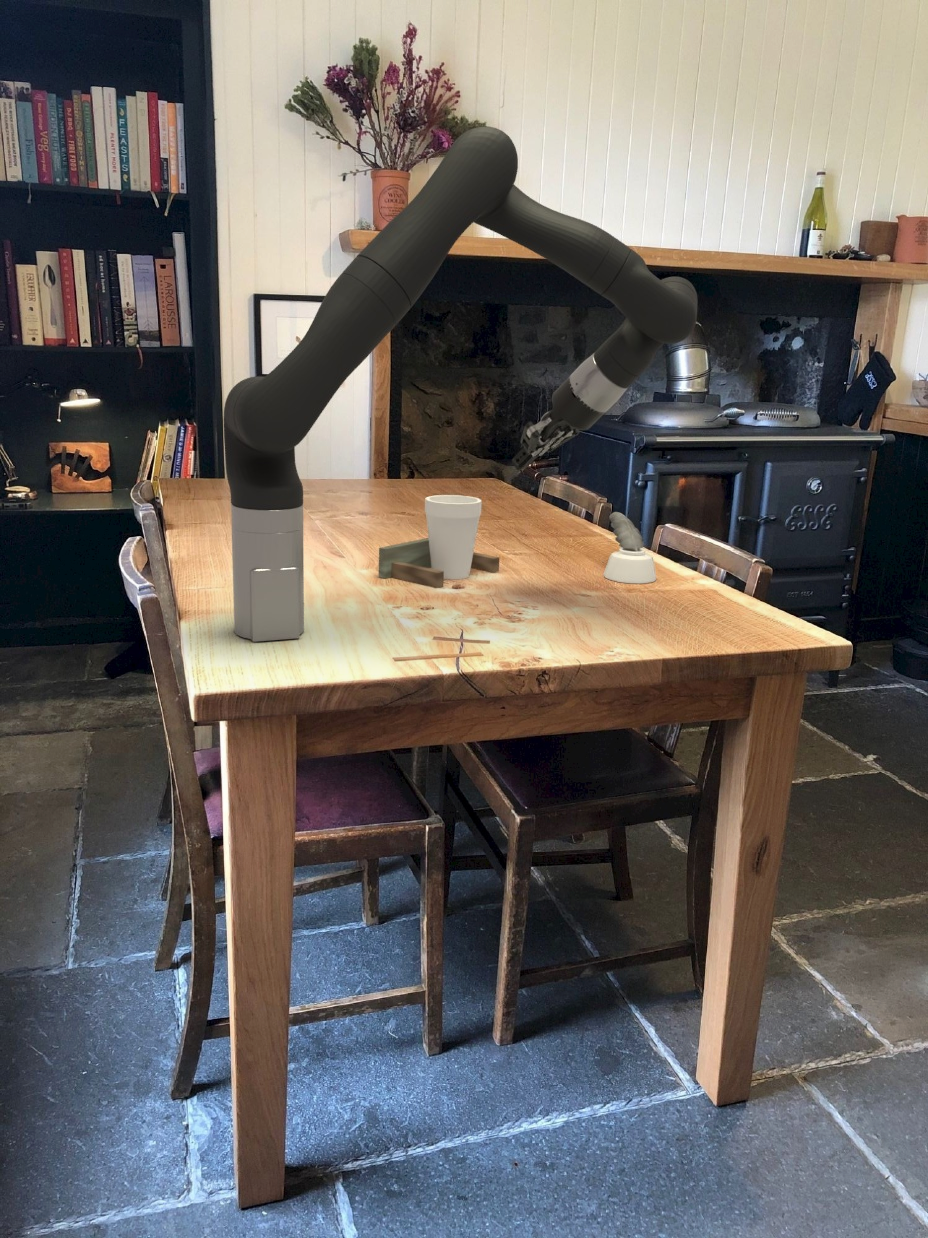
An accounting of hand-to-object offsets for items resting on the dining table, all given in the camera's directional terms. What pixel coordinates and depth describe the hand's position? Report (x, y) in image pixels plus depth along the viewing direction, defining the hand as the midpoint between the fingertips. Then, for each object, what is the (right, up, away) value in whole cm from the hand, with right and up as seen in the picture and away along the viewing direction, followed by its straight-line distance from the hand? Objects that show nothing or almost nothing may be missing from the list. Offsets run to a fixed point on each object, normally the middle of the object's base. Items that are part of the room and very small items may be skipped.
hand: (517, 465), depth 154 cm
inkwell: (+20, -16, +20) cm, 33 cm away
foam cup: (-11, -17, +13) cm, 24 cm away
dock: (-12, -16, +14) cm, 25 cm away
